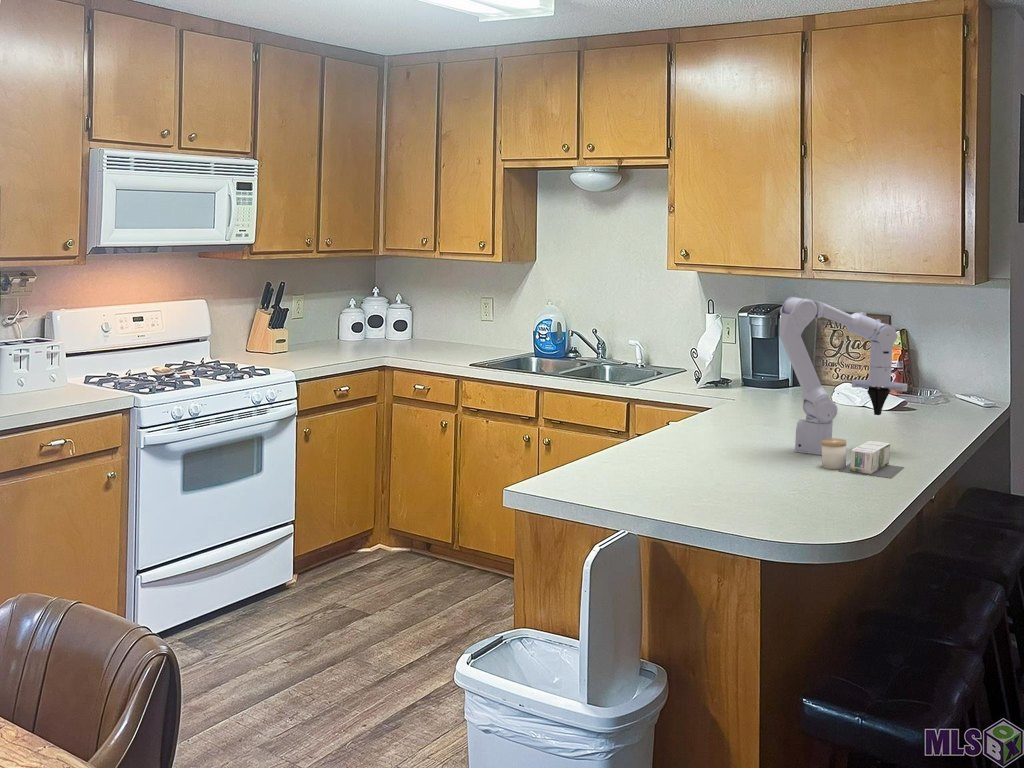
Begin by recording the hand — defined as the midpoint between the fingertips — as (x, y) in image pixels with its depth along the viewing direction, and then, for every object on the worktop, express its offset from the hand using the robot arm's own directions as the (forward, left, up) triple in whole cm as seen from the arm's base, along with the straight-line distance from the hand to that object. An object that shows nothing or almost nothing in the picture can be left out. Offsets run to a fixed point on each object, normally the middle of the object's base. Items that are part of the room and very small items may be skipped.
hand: (877, 414), depth 277 cm
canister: (-4, -27, -10) cm, 29 cm away
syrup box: (+5, -16, -7) cm, 18 cm away
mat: (+5, -24, -10) cm, 27 cm away
